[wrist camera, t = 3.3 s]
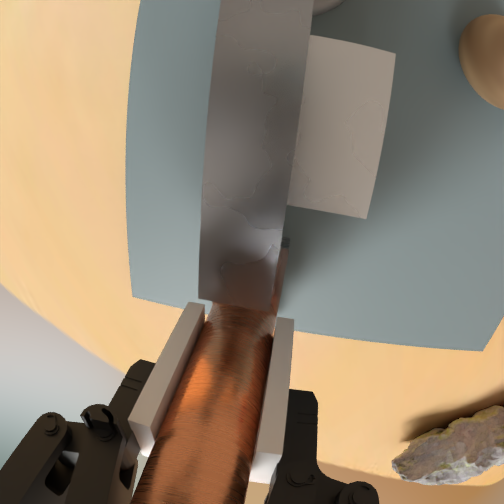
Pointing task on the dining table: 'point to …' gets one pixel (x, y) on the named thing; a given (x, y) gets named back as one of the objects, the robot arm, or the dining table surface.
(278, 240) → the lever
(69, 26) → the dining table surface
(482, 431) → the mineral specimen
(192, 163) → the board
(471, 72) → the light brown ball
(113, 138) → the dining table surface
